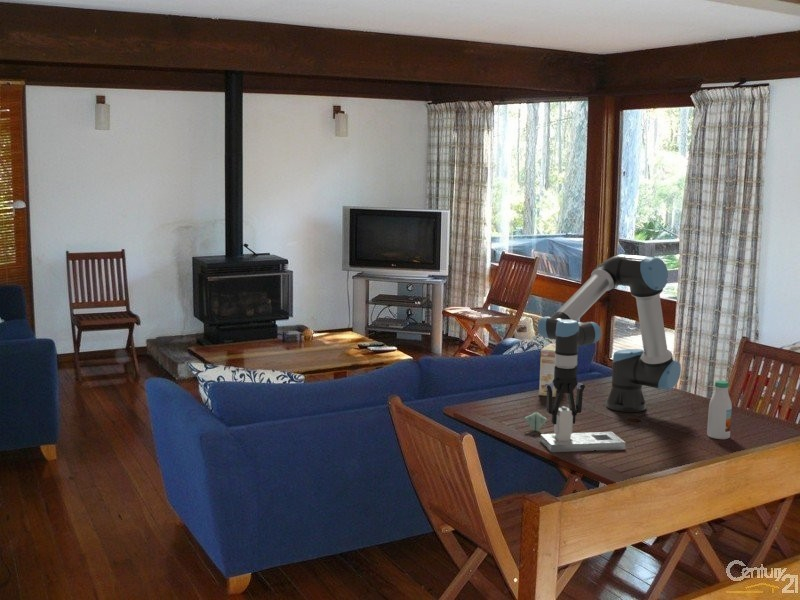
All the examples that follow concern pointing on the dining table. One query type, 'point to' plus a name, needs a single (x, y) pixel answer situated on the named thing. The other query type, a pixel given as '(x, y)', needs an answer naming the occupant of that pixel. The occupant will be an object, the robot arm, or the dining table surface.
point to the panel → (584, 442)
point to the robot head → (535, 420)
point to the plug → (564, 424)
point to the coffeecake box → (547, 369)
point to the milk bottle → (720, 412)
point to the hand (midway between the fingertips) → (563, 432)
